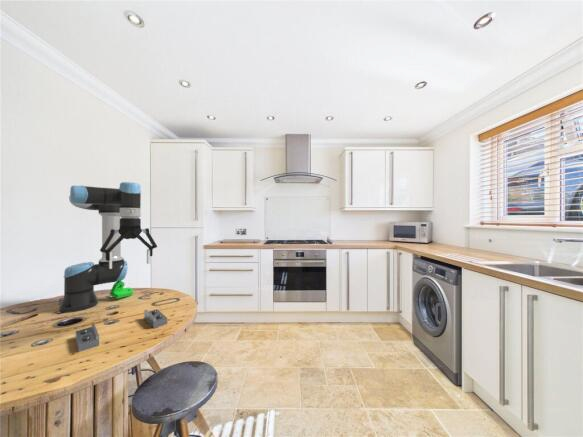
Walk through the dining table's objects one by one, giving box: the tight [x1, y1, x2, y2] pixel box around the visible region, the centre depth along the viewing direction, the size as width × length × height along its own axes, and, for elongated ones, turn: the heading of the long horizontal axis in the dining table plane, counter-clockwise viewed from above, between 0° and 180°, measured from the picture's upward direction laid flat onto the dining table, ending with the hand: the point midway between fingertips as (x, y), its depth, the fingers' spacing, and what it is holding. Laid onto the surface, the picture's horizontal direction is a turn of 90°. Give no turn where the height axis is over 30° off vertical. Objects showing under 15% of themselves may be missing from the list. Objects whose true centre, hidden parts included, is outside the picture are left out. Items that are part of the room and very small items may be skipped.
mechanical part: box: [109, 280, 135, 299], centre depth 136 cm, size 12×6×8 cm, turn 170°
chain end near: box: [75, 323, 100, 353], centre depth 85 cm, size 14×6×4 cm, turn 48°
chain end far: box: [143, 308, 168, 329], centre depth 103 cm, size 14×6×4 cm, turn 48°
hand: (130, 265), depth 98 cm, fingers open, 13 cm apart
